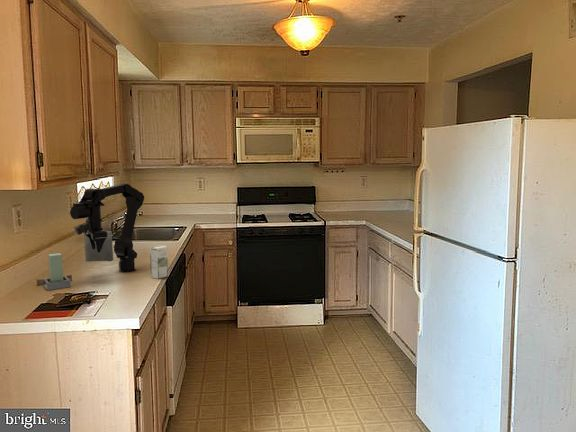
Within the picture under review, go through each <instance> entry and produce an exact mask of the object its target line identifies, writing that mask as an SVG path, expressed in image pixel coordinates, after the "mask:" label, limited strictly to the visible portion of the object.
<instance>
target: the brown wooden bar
mask: <svg viewBox="0 0 576 432" xmlns="http://www.w3.org/2000/svg"><path fill="white" fill-rule="evenodd" d="M63 276H66V277H67V278H69V279H70V282H72V281H73V278H72V277H73V275H72V274H65V275H64V274H63ZM47 278H48V277H44V278H43V277H42V278H36V286H37V287H38V286H44V280H43V279H47Z"/></svg>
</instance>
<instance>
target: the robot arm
mask: <svg viewBox="0 0 576 432" xmlns="http://www.w3.org/2000/svg"><path fill="white" fill-rule="evenodd" d="M119 194H121V195H122V197H123V198H124V199H125V205H126V213H125V217H124V222H123V226H122V231H121V235H120V237H119V238H118V239H115V240H114V245H113V246H112V247H113V253H115V256H116V258H117V259H119V261H118V271H120V272H122V273H127V272H133V271H135V272H136V270H137V269H136V267H135V264H136V263H135V259H137V258H138V257H137V256H138V253H137V252H136V251H135V250H134V243H133V239H132V236H133V233H134V228H135V224H136V220H137V215H138V212H139V210H140V208H141V207H142V206H143V203H144V201H145V195H144V194H143V192H142V191H139V189H136V188H134V187H132V186H131V184H129V183H119V184H116V185H112V186H108V187H102V188H86V189H85V190H84V192H83V194H82V197H81V198H80V201H78V203H76V202H73V204H72V206H71V207H70V210H69V214H70V217H71V219H72V220H73V219H74V220H81V219H85V222H84V223H81V224H79V225H76V226H73V230H74V231H75V234H76V235H78V236H79V235H82V234H83V235H86V236H87V237H88V238H89V241H90V244H91V247H92V249H95V247H96V249H97V252H98V253H99V252H100V251H101V249H102V246H103V244H104V242H105V240H106V238H107V237H108V236H107V232H106V231H107V230H104V228H103V227H102V226H103V225H102V222H103V218H102V213H101V212H102V211H101V208H102V207H104V206H105V204H104V203H103V202H102V201H103V200H105V199H106V198H107V197H110V196H115V195H119Z"/></svg>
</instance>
